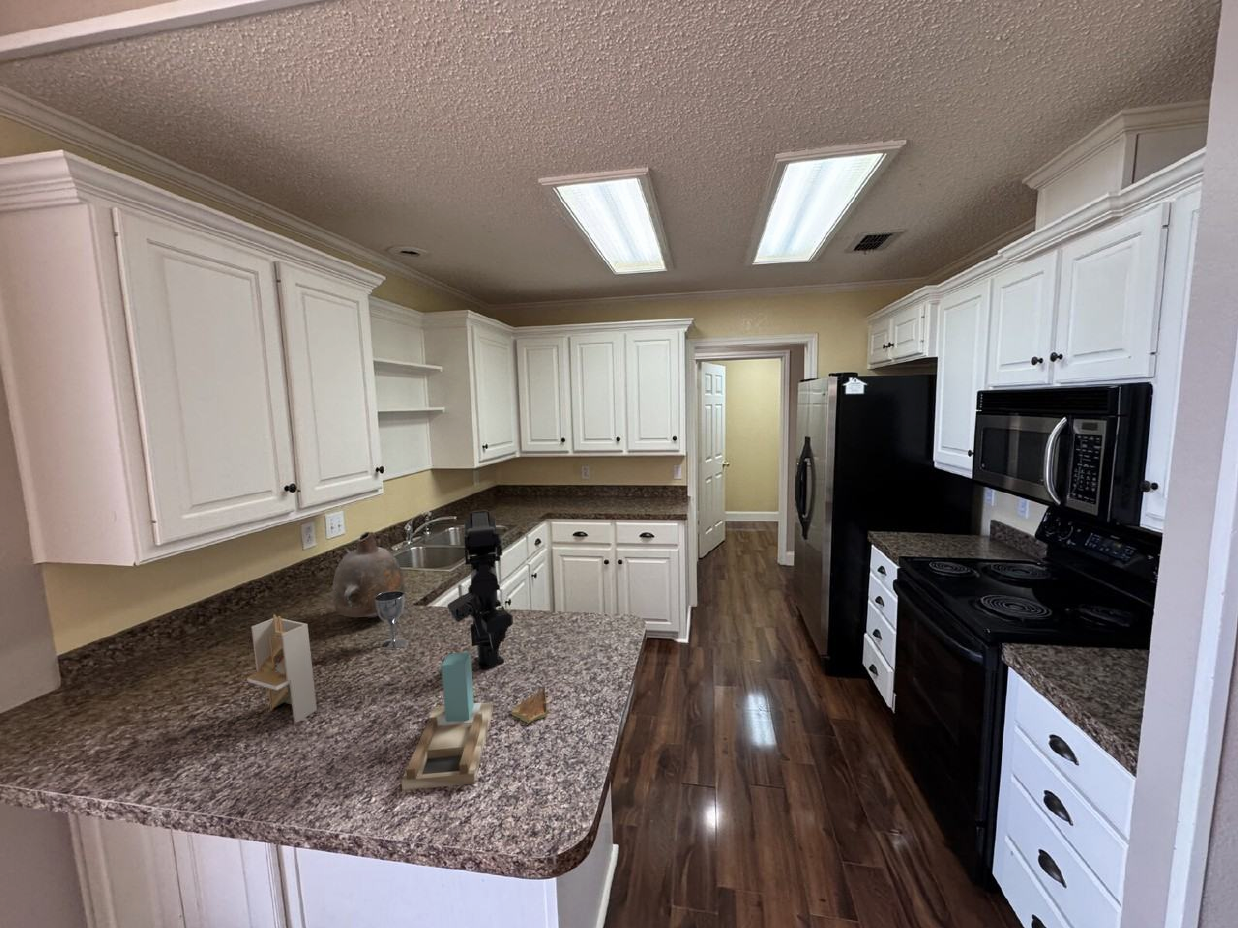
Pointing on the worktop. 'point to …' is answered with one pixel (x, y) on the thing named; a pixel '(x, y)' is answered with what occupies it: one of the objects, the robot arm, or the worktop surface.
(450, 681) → the tall block
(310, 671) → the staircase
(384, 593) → the wine glass
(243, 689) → the worktop surface
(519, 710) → the shard
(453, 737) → the beige tray
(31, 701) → the worktop surface
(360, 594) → the jug
